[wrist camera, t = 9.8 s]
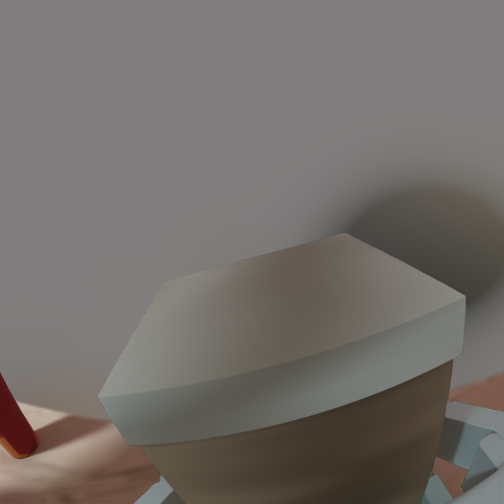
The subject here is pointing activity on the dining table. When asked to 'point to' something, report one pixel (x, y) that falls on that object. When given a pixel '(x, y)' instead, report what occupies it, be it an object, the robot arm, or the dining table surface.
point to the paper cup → (14, 426)
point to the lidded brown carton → (292, 378)
